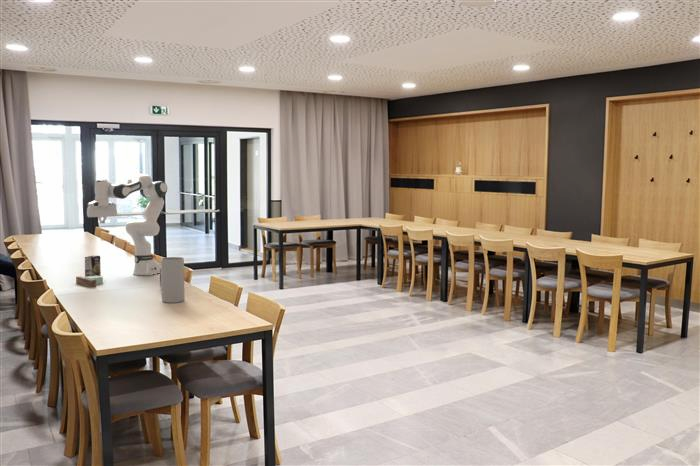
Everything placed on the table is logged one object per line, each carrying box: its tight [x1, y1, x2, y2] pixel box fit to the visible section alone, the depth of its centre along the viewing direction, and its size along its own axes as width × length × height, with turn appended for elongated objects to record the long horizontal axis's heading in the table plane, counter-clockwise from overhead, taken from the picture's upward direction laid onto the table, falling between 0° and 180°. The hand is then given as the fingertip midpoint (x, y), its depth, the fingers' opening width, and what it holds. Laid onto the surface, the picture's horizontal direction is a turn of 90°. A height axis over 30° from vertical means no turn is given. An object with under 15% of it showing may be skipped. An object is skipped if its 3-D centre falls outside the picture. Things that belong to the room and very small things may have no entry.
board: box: [75, 275, 97, 288], centre depth 396 cm, size 3×20×4 cm, turn 51°
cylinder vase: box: [160, 256, 185, 304], centre depth 351 cm, size 12×12×25 cm
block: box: [86, 275, 104, 286], centre depth 401 cm, size 8×8×5 cm
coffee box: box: [84, 255, 102, 277], centre depth 417 cm, size 9×6×16 cm
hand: (102, 223), depth 413 cm, fingers closed
